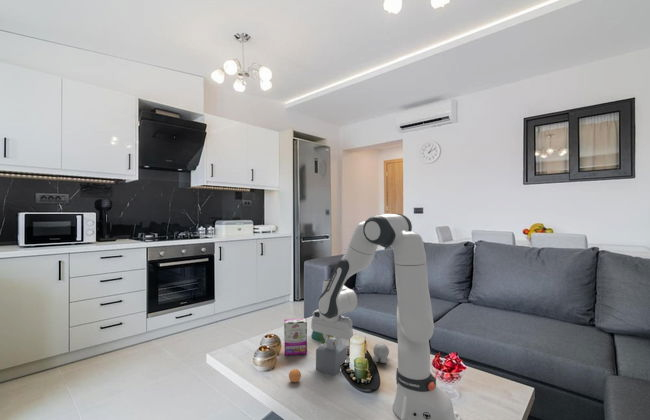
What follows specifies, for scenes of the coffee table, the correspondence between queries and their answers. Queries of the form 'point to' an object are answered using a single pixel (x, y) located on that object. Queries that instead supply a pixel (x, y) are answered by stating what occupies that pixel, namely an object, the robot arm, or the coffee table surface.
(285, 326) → the candy bar box
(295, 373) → the ball
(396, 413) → the robot arm
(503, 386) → the coffee table surface
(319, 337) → the decorative cone
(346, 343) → the jar
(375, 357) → the chubby cartoon animal
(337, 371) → the grey faceted cube
